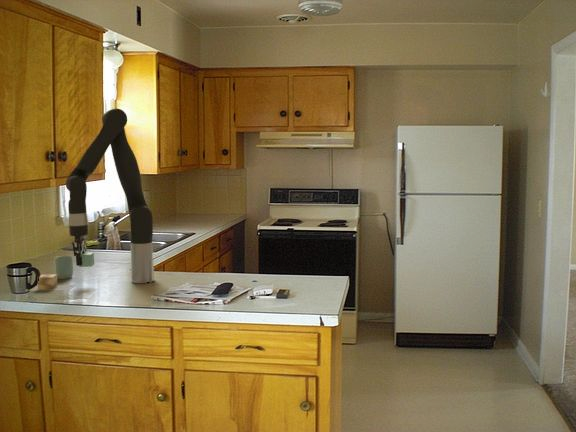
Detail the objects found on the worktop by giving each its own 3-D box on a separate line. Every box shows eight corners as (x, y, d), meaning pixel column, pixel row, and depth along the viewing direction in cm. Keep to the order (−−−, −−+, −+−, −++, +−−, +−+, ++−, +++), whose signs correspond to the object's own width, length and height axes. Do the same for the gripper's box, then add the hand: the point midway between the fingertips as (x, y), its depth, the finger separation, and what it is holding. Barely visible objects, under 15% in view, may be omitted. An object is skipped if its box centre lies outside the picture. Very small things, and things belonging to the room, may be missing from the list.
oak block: (57, 286, 279) (57, 274, 279) (53, 289, 273) (52, 277, 273) (42, 286, 279) (42, 274, 278) (38, 289, 273) (37, 277, 273)
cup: (54, 282, 292) (53, 259, 291) (55, 278, 300) (54, 256, 299) (73, 281, 295) (72, 258, 293) (74, 277, 302) (73, 255, 301)
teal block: (94, 264, 284) (93, 252, 283) (91, 266, 279) (91, 254, 278) (82, 264, 283) (81, 253, 283) (79, 267, 278) (78, 255, 278)
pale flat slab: (75, 287, 282) (75, 284, 282) (69, 292, 272) (69, 290, 272) (37, 287, 281) (36, 285, 281) (29, 293, 271) (29, 290, 271)
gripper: (83, 225, 272) (86, 267, 274) (91, 221, 286) (93, 260, 288) (64, 226, 271) (67, 268, 273) (73, 222, 286) (76, 261, 288)
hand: (81, 264), depth 281 cm, fingers closed on teal block, 5 cm apart
